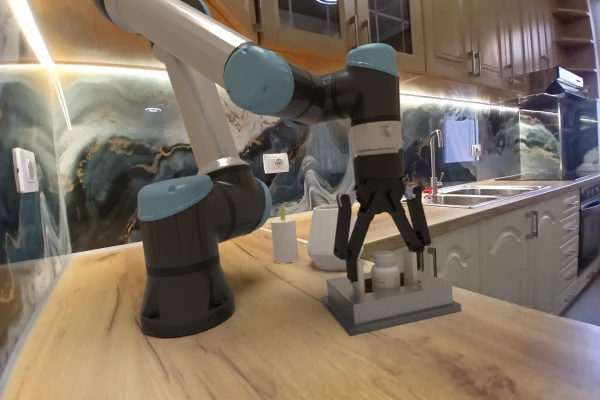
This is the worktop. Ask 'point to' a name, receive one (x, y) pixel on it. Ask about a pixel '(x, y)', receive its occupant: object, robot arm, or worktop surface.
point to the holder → (387, 302)
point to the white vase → (326, 238)
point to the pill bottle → (384, 271)
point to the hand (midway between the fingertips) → (386, 294)
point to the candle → (284, 239)
